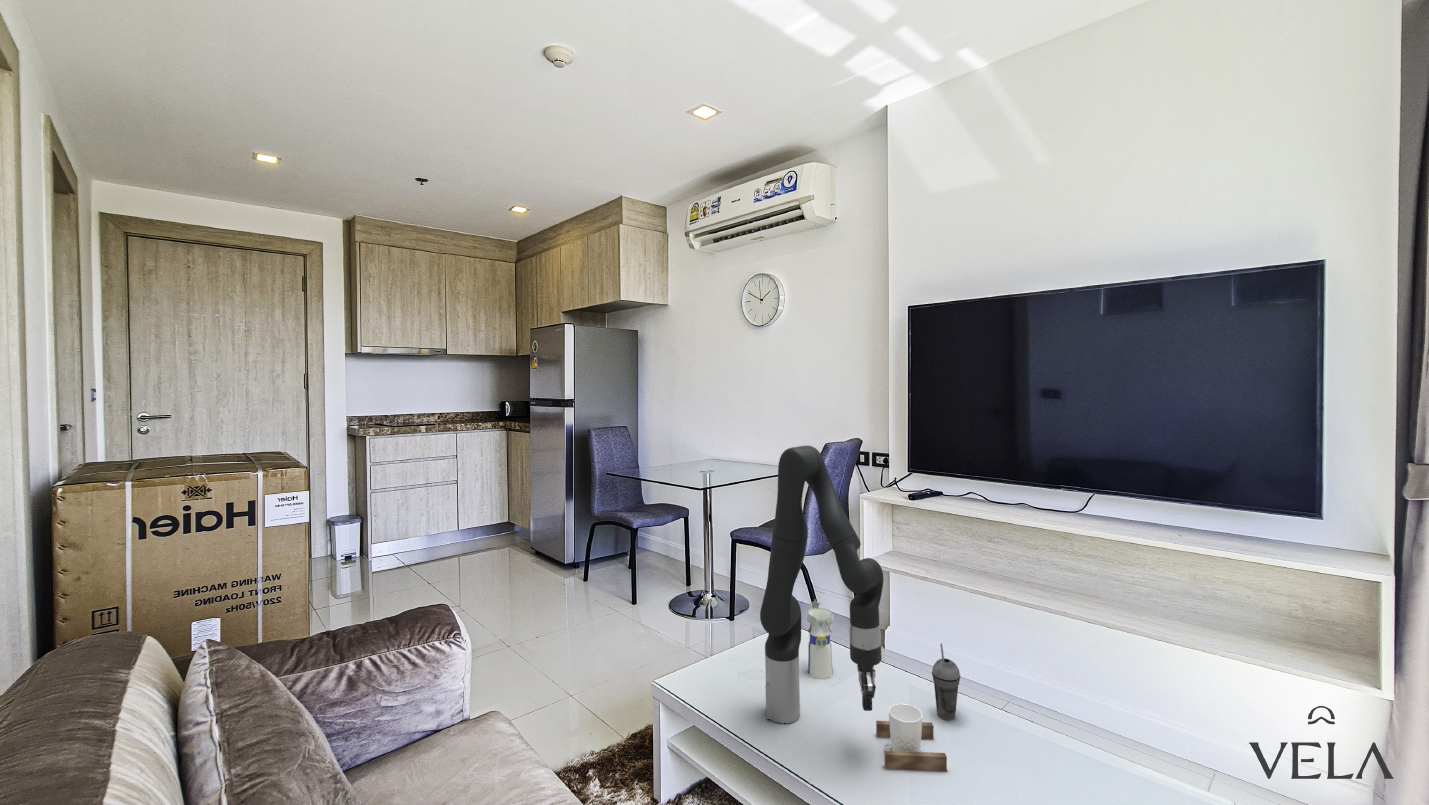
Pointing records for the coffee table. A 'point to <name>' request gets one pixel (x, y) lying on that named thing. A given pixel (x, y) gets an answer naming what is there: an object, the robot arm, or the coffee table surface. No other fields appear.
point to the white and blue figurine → (819, 642)
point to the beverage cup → (946, 687)
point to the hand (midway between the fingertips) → (867, 709)
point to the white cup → (905, 727)
